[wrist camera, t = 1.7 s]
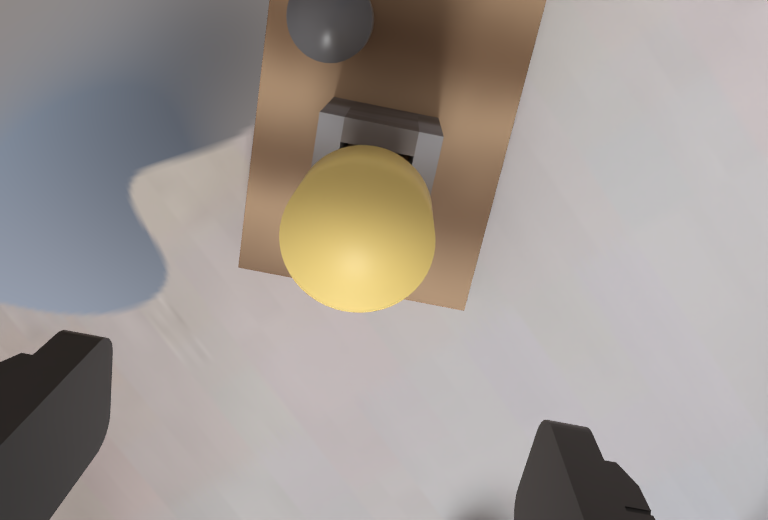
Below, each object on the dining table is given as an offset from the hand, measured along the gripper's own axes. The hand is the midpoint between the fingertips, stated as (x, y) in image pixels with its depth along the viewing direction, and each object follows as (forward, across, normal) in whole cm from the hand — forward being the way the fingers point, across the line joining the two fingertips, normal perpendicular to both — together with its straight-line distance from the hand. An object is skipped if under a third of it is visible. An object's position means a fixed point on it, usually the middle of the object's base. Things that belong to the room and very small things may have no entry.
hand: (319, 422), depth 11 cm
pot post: (+21, +2, -6) cm, 22 cm away
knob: (+17, 0, 0) cm, 17 cm away
